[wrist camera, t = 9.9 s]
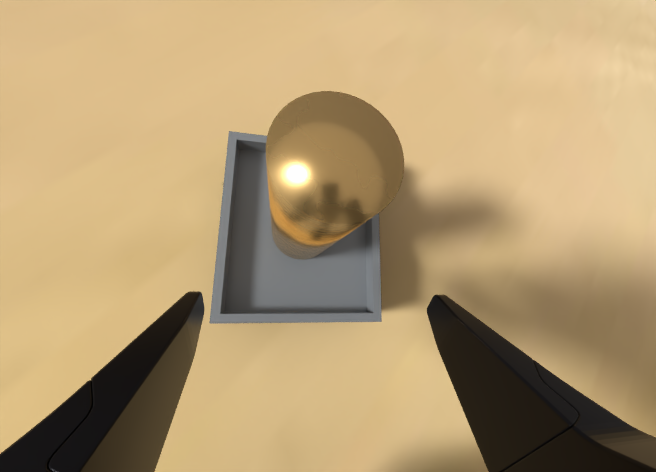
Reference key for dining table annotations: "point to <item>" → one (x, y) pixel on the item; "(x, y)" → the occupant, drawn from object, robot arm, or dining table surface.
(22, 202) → the dining table surface
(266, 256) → the gray rectangular tray
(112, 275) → the dining table surface
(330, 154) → the gold cylinder
